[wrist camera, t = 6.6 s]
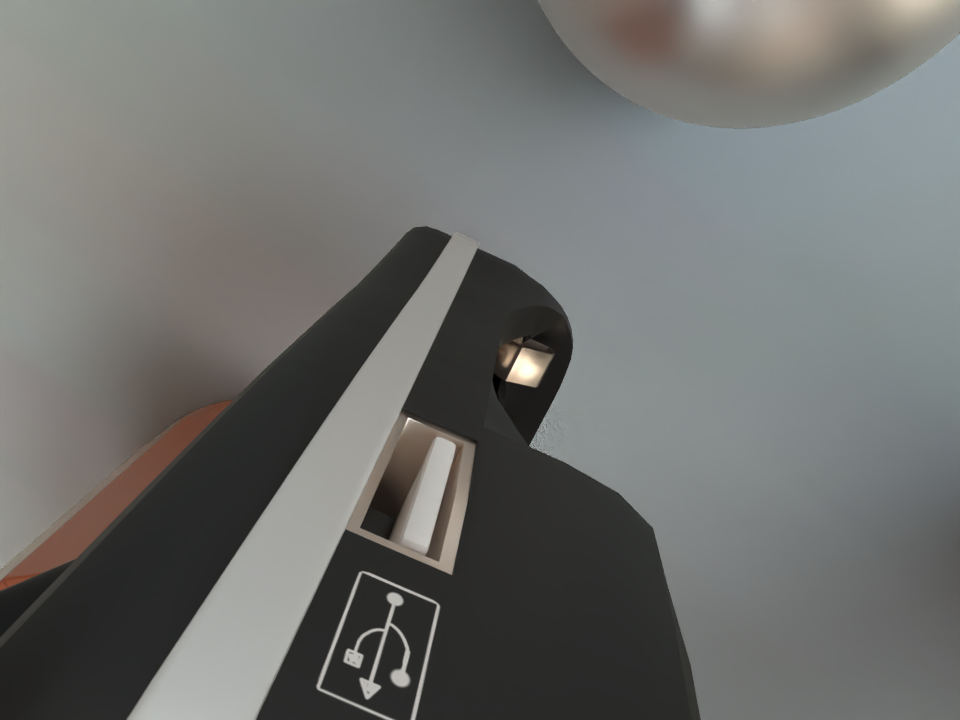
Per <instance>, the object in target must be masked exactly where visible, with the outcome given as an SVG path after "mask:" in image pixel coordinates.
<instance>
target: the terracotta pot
mask: <svg viewBox="0 0 960 720" xmlns="http://www.w3.org/2000/svg"><path fill="white" fill-rule="evenodd" d="M232 401H233V400H229V401H223V402H219V403H215V404H211V405H207V406H205V407H202V408H200V409H197V410H195V411H192V412H190V413H189V414H187V415H185V416H183V417H182V418H180V419H178V420H177V421H175V422H174V423H173V424H172V425H170V426H169V427H168V428H167V429H165V430H164V431H163V432H162V433H161V434H159V435H158V436H157V437H156V438H154V439H153V440H151V441H150V442H148V443H147V444H145V445H144V446H143V447H141V448H140V449H139V450H138V451H137V452H136V453H135V454H133V455H132V456H131V457H130V458H129V459H128V460H126V461H125V462H124V463H123V464H122V465H121V466H120V467H118V468H117V469H116V470H115V471H114V472H113V473H111V474H110V475H109V476H108V477H107V478H106V479H105V480H103V481H102V482H101V483H100V484H99V485H98V486H96V487H95V488H94V489H93V490H92V491H91V492H90V493H88V494H87V495H86V496H85V497H84V498H83V499H82V500H80V501H79V502H78V503H77V504H76V505H75V506H73V507H72V508H71V509H70V510H69V511H68V512H67V513H65V514H64V515H63V516H62V517H61V518H60V519H58V520H57V521H56V522H55V523H54V524H53V525H52V526H50V527H49V528H48V529H47V530H46V531H45V532H43V533H42V534H41V535H40V536H39V537H38V538H37V539H35V540H34V541H33V542H32V543H31V544H30V545H28V546H27V547H26V548H25V549H24V550H23V551H22V552H20V553H19V554H18V555H17V556H16V557H15V558H13V559H12V560H11V561H10V562H9V563H8V564H7V565H5V566H4V567H3V568H2V569H1V570H0V590H3V589H5V588H8V587H10V586H12V585H15V584H17V583H19V582H22V581H24V580H27V579H29V578H31V577H34V576H36V575H39V574H41V573H43V572H46V571H48V570H50V569H53V568H55V567H58V566H60V565H62V564H65V563H67V562H69V561H72V560H74V559H77V557H78V556H79V555H80V554H81V553H82V552H83V551H84V550H85V549H86V548H87V547H88V546H89V545H90V544H91V543H92V542H93V541H94V540H95V539H96V538H97V537H98V536H99V535H100V534H101V533H102V532H103V531H104V530H105V529H106V528H107V527H108V526H109V525H110V524H111V523H112V522H113V521H114V520H115V519H116V518H117V517H118V516H119V515H120V514H121V513H122V512H123V511H124V509H125V508H126V507H127V506H128V505H129V504H130V503H131V502H132V501H133V500H134V499H135V498H136V497H137V496H138V495H139V494H140V493H141V492H142V491H143V490H144V489H145V488H146V487H147V486H148V485H149V484H150V483H151V482H152V481H153V480H154V479H155V478H156V477H157V476H158V475H159V474H160V473H161V472H162V471H163V470H164V469H165V468H166V467H167V466H168V465H169V464H170V463H171V462H172V461H173V460H174V459H175V458H176V457H177V456H178V455H179V454H180V453H181V452H182V451H183V450H184V449H185V448H186V447H187V446H188V445H189V444H190V443H191V442H192V441H193V440H194V439H195V438H196V437H197V436H198V435H199V434H200V433H201V432H202V431H203V430H204V429H205V428H206V426H207V425H208V424H209V423H210V422H211V421H213V420H214V419H215V418H216V417H217V416H218V415H219V414H220V413H221V412H222V411H223V410H224V409H225V408H226V407H227V406H228V405H229V404H230V403H231V402H232Z"/></svg>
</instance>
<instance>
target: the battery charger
mask: <svg viewBox="0 0 960 720" xmlns="http://www.w3.org/2000/svg"><path fill="white" fill-rule="evenodd" d="M478 246H479V242H477V241H475V240H472V239H470V238H468V237H466V236H464V235H462V234H459V233H457V232H455V233H454V234H453V236H450V235H448V234H446V233H444V232H441V231H439V230H437V229H433V228H430V227H427V226H425V227H415V228H413V229H412V230H410V231H409V232H407V233H406V234H405V235H404V236H403V238H402V239H401V240H400V241H399V242H398V243H397V244H396V245H395V246H394V247H393V248H392V249H391V251H390V252H389V253H388V254H387V255H386V256H385V257H384V258H383V259H382V260H381V261H380V262H379V263H378V264H377V265H376V266H375V268H374V269H373V270H372V271H371V272H370V273H369V274H368V275H367V276H366V277H365V278H364V279H363V280H362V281H361V282H360V283H359V284H358V285H357V286H356V287H354V288H353V289H352V290H351V291H350V292H349V293H348V294H346V295H345V296H344V297H343V298H342V299H341V300H340V301H338V302H337V303H336V304H335V305H334V306H333V307H332V308H331V309H330V310H328V311H327V312H326V313H325V314H324V315H323V316H322V317H321V318H320V319H319V320H317V321H316V322H315V323H314V324H313V325H312V326H311V327H310V328H309V329H308V330H307V331H306V332H305V333H303V334H302V335H301V336H300V337H299V338H298V339H297V340H296V341H295V342H294V343H293V344H292V345H291V346H289V347H288V348H287V349H286V350H285V351H284V352H283V353H282V354H281V355H280V356H279V357H278V358H277V359H276V360H274V361H273V362H272V363H271V364H270V365H269V366H268V367H267V368H266V369H265V370H264V371H263V372H262V373H261V374H260V375H259V376H258V377H257V378H256V379H255V380H254V381H253V382H252V383H250V384H249V385H248V386H247V387H246V388H245V389H244V390H243V391H242V392H241V393H240V394H239V395H238V396H237V397H236V398H235V399H234V400H233V401H232V402H231V403H230V404H229V405H228V406H227V407H226V408H225V409H224V410H223V411H222V412H221V413H220V414H219V415H218V416H217V417H216V418H215V419H214V420H213V421H211V422H210V423H209V424H208V425H207V426H206V428H205V429H204V430H203V431H202V432H201V433H200V434H199V435H198V436H197V437H196V438H195V439H194V440H193V441H192V442H191V443H190V444H189V445H188V446H187V447H186V448H185V449H184V450H183V451H182V452H181V453H180V454H179V455H178V456H177V457H176V458H175V459H174V460H173V461H172V462H171V463H170V464H169V465H168V466H167V467H166V468H165V469H164V470H163V471H162V472H161V473H160V474H159V475H158V476H157V477H156V478H155V479H154V480H153V481H152V482H151V483H150V484H149V485H148V486H147V487H146V488H145V489H144V490H143V491H142V492H141V493H140V494H139V495H138V496H137V497H136V498H135V499H134V500H133V501H132V502H131V503H130V504H129V505H128V506H127V507H126V508H125V509H124V511H123V512H122V513H121V514H120V515H119V516H118V517H117V518H116V519H115V520H114V521H113V522H112V523H111V524H110V525H109V526H108V527H107V528H106V529H105V530H104V531H103V532H102V533H101V534H100V535H99V536H98V537H97V538H96V539H95V540H94V541H93V542H92V543H91V544H90V545H89V546H88V547H87V548H86V549H85V550H84V551H83V552H82V553H81V554H80V555H79V556H78V557H77V559H76V560H75V561H74V562H73V563H72V564H71V565H70V566H69V567H68V568H67V569H66V570H65V571H64V572H63V573H62V574H61V575H60V576H59V577H58V578H57V579H56V580H55V581H54V582H53V583H52V584H51V585H50V586H49V587H48V588H47V589H46V590H45V592H44V593H43V594H42V595H41V596H40V597H39V598H38V599H37V600H36V601H35V602H34V603H33V604H32V605H31V606H30V607H29V608H28V609H27V610H26V611H25V612H24V613H23V614H22V615H21V616H20V617H19V618H18V619H17V620H16V621H15V622H14V624H13V625H12V626H11V627H10V628H9V629H8V630H7V631H6V632H5V633H4V634H3V635H2V636H1V637H0V720H701V719H700V714H699V709H698V703H697V698H696V692H695V687H694V682H693V676H692V671H691V666H690V662H689V658H688V655H687V651H686V648H685V645H684V641H683V638H682V634H681V631H680V627H679V624H678V620H677V617H676V613H675V610H674V606H673V603H672V599H671V596H670V592H669V589H668V586H667V582H666V578H665V574H664V570H663V566H662V562H661V558H660V554H659V550H658V546H657V542H656V538H655V534H654V531H653V528H652V527H651V526H650V525H649V524H648V523H647V522H646V521H645V520H644V519H643V518H642V517H641V516H640V515H639V514H638V513H637V512H636V511H635V510H634V509H633V507H632V506H631V505H630V504H629V503H628V502H627V501H626V500H625V499H624V498H623V497H622V496H621V495H620V494H619V493H617V492H615V491H614V490H612V489H610V488H608V487H607V486H605V485H603V484H601V483H600V482H598V481H596V480H594V479H593V478H591V477H589V476H587V475H586V474H584V473H582V472H580V471H578V470H577V469H575V468H573V467H571V466H570V465H568V464H566V463H564V462H562V461H560V460H558V459H555V458H553V457H551V456H549V455H546V454H544V453H542V452H540V451H537V450H535V449H533V448H531V447H529V445H530V443H531V441H532V439H533V437H534V435H535V433H536V432H537V430H538V428H539V426H540V424H541V422H542V420H543V418H544V417H545V415H546V413H547V411H548V409H549V407H550V405H551V403H552V401H553V400H554V398H555V396H556V394H557V392H558V390H559V388H560V386H561V383H562V381H563V378H564V376H565V373H566V371H567V368H568V366H569V363H570V360H571V355H572V349H573V338H572V330H571V326H570V323H569V320H568V317H567V315H566V314H565V312H564V310H563V308H562V307H561V305H560V304H559V303H558V302H557V301H556V299H555V298H554V297H553V296H552V295H551V294H550V293H549V292H548V291H547V290H546V289H545V288H544V287H543V286H542V285H541V284H539V283H538V282H537V281H535V280H534V279H532V278H531V277H529V276H528V275H527V274H526V273H524V272H523V271H522V270H520V269H519V268H518V267H517V266H515V265H513V264H511V263H509V262H507V261H504V260H502V259H500V258H498V257H496V256H494V255H491V254H489V253H487V252H485V251H483V250H480V249H478Z"/></svg>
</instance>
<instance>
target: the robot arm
mask: <svg viewBox="0 0 960 720" xmlns="http://www.w3.org/2000/svg"><path fill="white" fill-rule="evenodd" d="M75 560H76V559H74V560H72V561H69V562H67V563H65V564H62V565H60V566H58V567H55V568H53V569H50V570H48V571H46V572H43V573H41V574H39V575H36V576H34V577H31V578H29V579H27V580H24V581H22V582H19V583H17V584H15V585H12V586H10V587H8V588H5V589H3V590H0V637H1V636H2V635H3V634H4V633H5V632H6V631H7V630H8V629H9V628H10V627H11V626H12V625H13V624H14V622H15V621H16V620H17V619H18V618H19V617H20V616H21V615H22V614H23V613H24V612H25V611H26V610H27V609H28V608H29V607H30V606H31V605H32V604H33V603H34V602H35V601H36V600H37V599H38V598H39V597H40V596H41V595H42V594H43V593H44V592H45V590H46V589H47V588H48V587H49V586H50V585H51V584H52V583H53V582H54V581H55V580H56V579H57V578H58V577H59V576H60V575H61V574H62V573H63V572H64V571H65V570H66V569H67V568H68V567H69V566H70V565H71V564H72V563H73V562H74V561H75Z"/></svg>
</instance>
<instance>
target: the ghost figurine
mask: <svg viewBox="0 0 960 720" xmlns="http://www.w3.org/2000/svg"><path fill="white" fill-rule="evenodd" d="M538 2H539V4H540V6H541V8H542V9H543V11H544V13H545V15H546V17H547V18H548V20H549V22H550V23H551V25H552V27H553V28H554V30H555V31H556V33H557V34H558V35H559V37H560V38H561V40H562V41H563V42H564V43H565V45H566V46H567V47H568V49H569V50H570V51H571V52H572V53H573V54H574V56H575V57H576V58H577V59H578V60H579V61H580V62H581V63H582V64H583V65H584V66H585V67H586V68H587V69H588V70H589V71H590V72H591V73H592V74H594V75H595V76H596V77H597V78H598V79H599V80H601V81H602V82H603V83H604V84H606V85H607V86H608V87H610V88H611V89H613V90H614V91H616V92H617V93H619V94H620V95H622V96H623V97H625V98H627V99H628V100H630V101H632V102H634V103H636V104H638V105H640V106H642V107H644V108H646V109H648V110H650V111H653V112H655V113H658V114H660V115H663V116H666V117H669V118H672V119H676V120H679V121H683V122H687V123H692V124H697V125H702V126H709V127H718V128H762V127H772V126H779V125H785V124H791V123H795V122H800V121H804V120H808V119H812V118H815V117H819V116H822V115H825V114H828V113H831V112H834V111H837V110H840V109H842V108H845V107H847V106H850V105H852V104H854V103H856V102H859V101H861V100H863V99H865V98H867V97H869V96H871V95H873V94H875V93H877V92H879V91H881V90H883V89H884V88H886V87H888V86H890V85H891V84H893V83H895V82H897V81H898V80H900V79H901V78H903V77H904V76H906V75H908V74H909V73H911V72H912V71H914V70H915V69H916V68H918V67H919V66H921V65H922V64H923V63H925V62H926V61H927V60H929V59H930V58H931V57H933V56H934V55H935V54H937V53H938V52H939V51H940V50H941V49H943V48H944V47H945V46H946V45H947V44H949V43H950V42H951V41H952V40H953V39H954V38H955V37H956V36H958V35H959V34H960V0H538Z"/></svg>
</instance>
